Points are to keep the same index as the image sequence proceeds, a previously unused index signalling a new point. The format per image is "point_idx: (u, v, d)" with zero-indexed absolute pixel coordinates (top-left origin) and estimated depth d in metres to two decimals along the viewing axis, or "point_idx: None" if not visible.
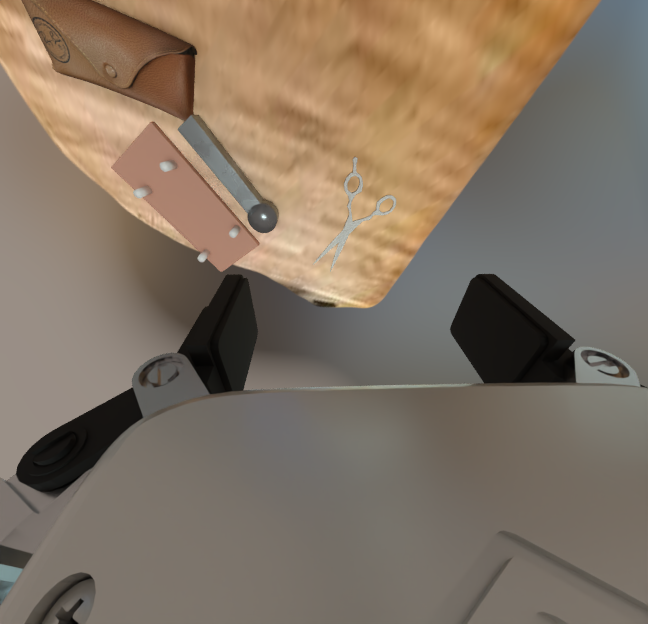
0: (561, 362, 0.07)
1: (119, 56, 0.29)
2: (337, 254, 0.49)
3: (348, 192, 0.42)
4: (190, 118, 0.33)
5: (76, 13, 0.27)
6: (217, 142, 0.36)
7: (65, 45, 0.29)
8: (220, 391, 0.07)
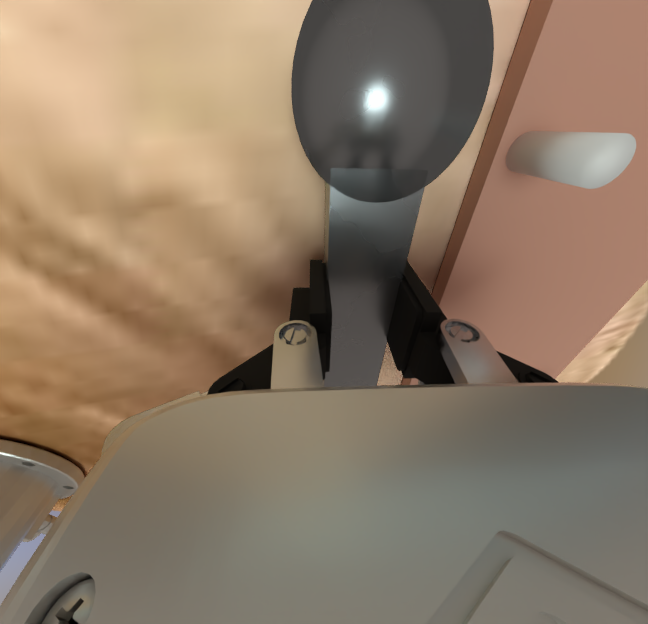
0: (437, 333, 0.08)
1: None
2: None
3: None
4: None
5: None
6: None
7: None
8: None
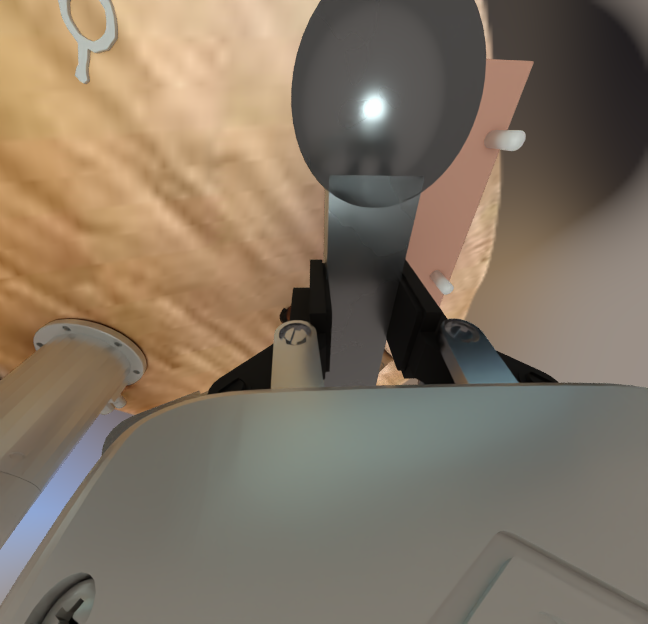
0: (437, 333, 0.08)
1: None
2: None
3: (103, 1, 0.15)
4: None
5: None
6: None
7: None
8: None
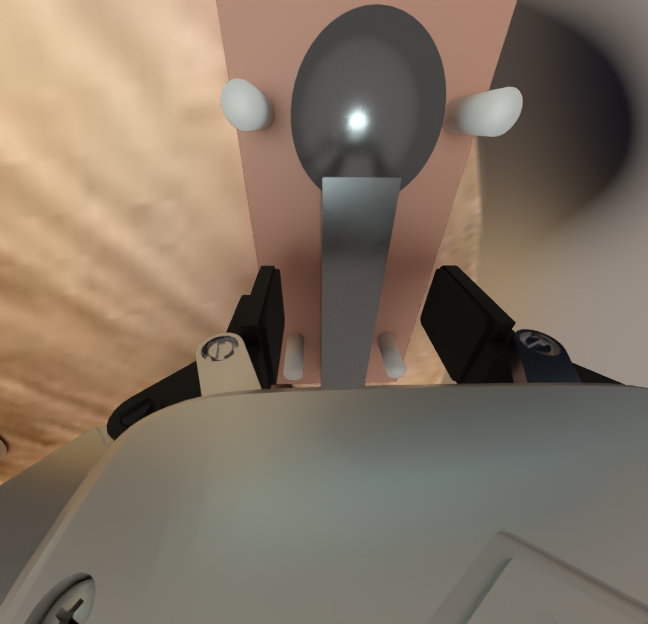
0: (505, 344, 0.08)
1: None
2: None
3: None
4: None
5: None
6: (320, 345, 0.16)
7: None
8: (264, 370, 0.08)
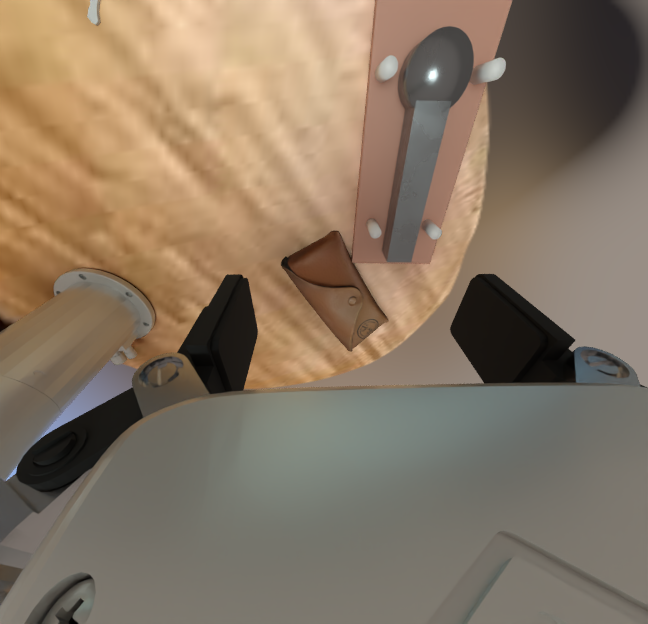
0: (561, 362, 0.07)
1: (335, 300, 0.32)
2: None
3: None
4: (389, 260, 0.28)
5: (335, 326, 0.35)
6: (388, 222, 0.27)
7: (363, 323, 0.36)
8: (220, 391, 0.07)
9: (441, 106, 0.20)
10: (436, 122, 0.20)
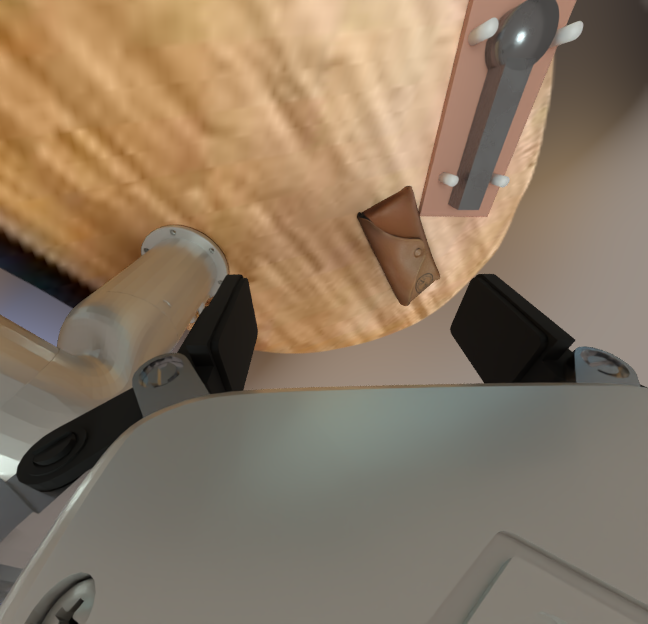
0: (561, 362, 0.07)
1: (404, 251, 0.36)
2: None
3: None
4: (460, 208, 0.32)
5: (399, 277, 0.38)
6: (460, 174, 0.31)
7: (421, 277, 0.40)
8: (220, 391, 0.07)
9: (527, 62, 0.24)
10: (520, 77, 0.24)
